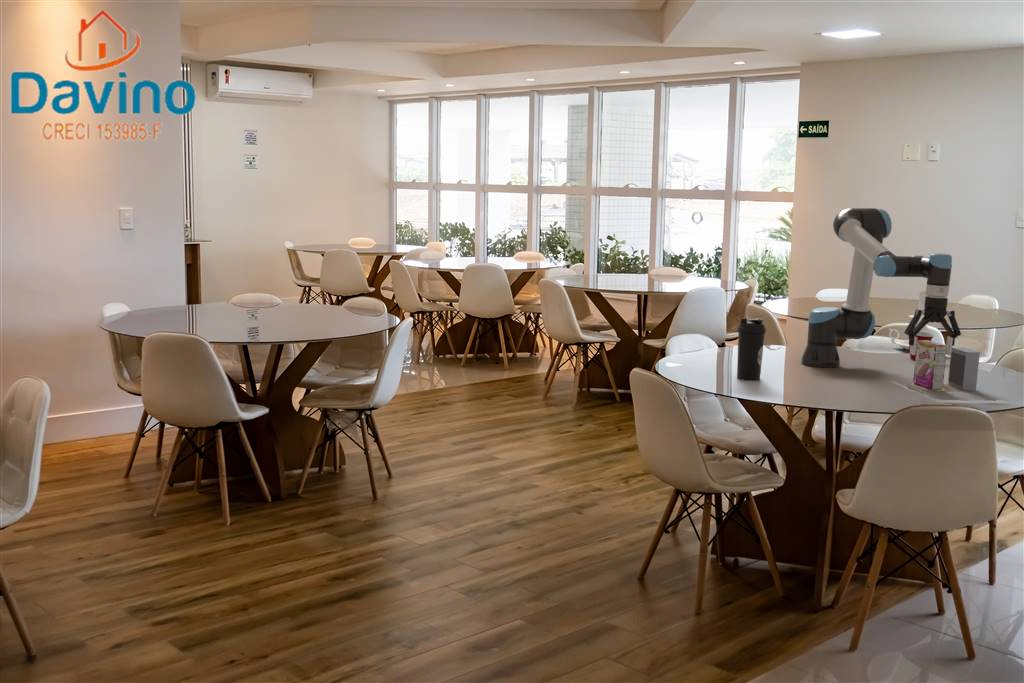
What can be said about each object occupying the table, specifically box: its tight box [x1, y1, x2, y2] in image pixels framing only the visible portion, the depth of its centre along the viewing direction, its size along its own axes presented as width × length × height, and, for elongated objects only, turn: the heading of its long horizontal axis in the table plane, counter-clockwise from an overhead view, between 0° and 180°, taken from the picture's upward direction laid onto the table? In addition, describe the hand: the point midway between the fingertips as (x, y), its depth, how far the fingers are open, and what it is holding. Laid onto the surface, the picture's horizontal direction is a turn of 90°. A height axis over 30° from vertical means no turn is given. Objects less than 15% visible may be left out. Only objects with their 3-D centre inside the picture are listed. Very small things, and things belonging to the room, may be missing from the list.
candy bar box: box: [913, 340, 947, 390], centre depth 362 cm, size 11×5×16 cm, turn 14°
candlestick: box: [888, 289, 928, 351], centre depth 451 cm, size 21×25×28 cm
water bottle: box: [736, 316, 767, 382], centre depth 374 cm, size 10×10×23 cm
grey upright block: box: [947, 347, 981, 390], centre depth 363 cm, size 5×10×14 cm, turn 5°
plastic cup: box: [907, 331, 935, 361], centre depth 427 cm, size 11×11×12 cm
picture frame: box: [906, 383, 980, 395], centre depth 364 cm, size 21×13×1 cm, turn 95°
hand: (930, 354), depth 361 cm, fingers open, 13 cm apart
